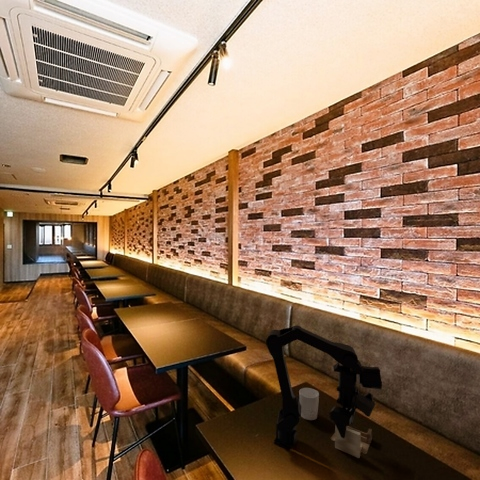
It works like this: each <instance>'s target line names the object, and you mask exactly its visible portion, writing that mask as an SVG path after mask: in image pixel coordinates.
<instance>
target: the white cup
mask: <svg viewBox="0 0 480 480" xmlns="http://www.w3.org/2000/svg"><path fill="white" fill-rule="evenodd" d="M298 393H299V402H300V404H301V406H302V408H301V417H300V418H302V419H304V420H307V421H314V420H316V419H317V418H318V410H319V399H320V397H319V396H320V393H319V391H318V390H316V389H314V388H310V387H302V388H300V389H299V391H298Z"/></svg>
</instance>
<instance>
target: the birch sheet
mask: <svg viewBox="0 0 480 480" xmlns="http://www.w3.org/2000/svg"><path fill="white" fill-rule="evenodd" d="M334 425H335V424H334ZM334 428H335V429H334V433H335V441H334V449H336V450H339V451H341V452H344V453H346V454H348V455H350V456H353V457H355V458H357V459H360V457H361V452H360V446H361V433H360V432H357V431H355V430H352V429H350V428H347V429H346V434H345V438H342V437H341V436H340V434H339V431H338V429H337V427H336V425H335V427H334Z"/></svg>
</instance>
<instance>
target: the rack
mask: <svg viewBox="0 0 480 480" xmlns="http://www.w3.org/2000/svg"><path fill="white" fill-rule="evenodd" d="M347 428H350V429H352V430H355V431H357V432H360V433H361V443H362V444H363V450H362V451H360V454H361V453H362V454H365V455H367V454H368V451H369V449H370V448H369V447H370V445H371V442H372V440H373V429H372V428H368V429H367V432H364V431H361V430H359V429H357V428H354V427H351V426H347ZM330 440H331V441H334V442H335V432H334V433H333V434H332V436H331V437H330Z"/></svg>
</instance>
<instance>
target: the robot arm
mask: <svg viewBox="0 0 480 480" xmlns="http://www.w3.org/2000/svg"><path fill="white" fill-rule="evenodd" d="M297 340H298V341H299V342H302V343H304V344H305V345H308V346H310V347H312V348H314V349H316V350H319V351H320V352H322V353H325V354H327V355H329V357H331V358H332V359H334V360H335V361H336V364H333V366H332V369H333V372H335V373H338V386H337V387H336V391H337V392H338V397H337V399H336V403H337V404H339V405H340V406H337V405H335V406H333V407H332V408H331V410H330V412H329V419H330V420H331V421H333V423H334V425H336V427H337V429H338V431H339V434H340V436H341V437H342V438H345V434H346V429H347V426H349V427H351V426H350V425H352V424H353V422H354V418H355V413H356V411H357V410H358V411H360V412H361V413H363V414H364V416H366V417H370V416H371V415H372V413H373V410H374V408H375V406H376V403H375V400H374V395H373V394H372V393H371V392H367V393H362V392H360V388H359V386H357V381H358V384H360V385H361V387H362V388H365V389H374V390H382V387H383V381H382V376H381V369H380V368H379V366H365V365H362V363H361V361H360V360H359V358H358V355H357V352H356V350H355V349H354V347H353V346H351V345H348V344H345V343H341V342H334V341H332V340H329V339H327V338H325V337H322V336H320V335H318V334H315V333H314V332H312V331H309V330H307V329H305V328H303V327H302V326H300V325H294V326H291V327H286V328H282V329H279V330H278V329H273V330H271V331H269V333H268V335H267V337H266V339H265V344H266V347H267V350H268V352H269V354H270V356H271V358H272V360H273V362H274V367H275V371H276V376H277V381H278V384H279V390H280V392H281V393H280V394H281V398H282V399H281V400H282V401H281V402H282V404H281V405H282V407H281V409H280V410H279V411H278V416H277V421H276V423H275V439H274V440H273V443H274V444H276V445H278V446H279V447H282V448H284V449H286V450H287V451H291V449H292V447H294V446H295V445H296V443H297V437H298V433H297V432H298V430H296V428H297V426H298V424H299V423H300V418H302V417H301V408H302V406H301V404H300V400H299V396H296V395H295V394H294V392H293V387H292V384H291V379H290V374H289V370H288V364H287V360H286V357H285V346H288V344H291V343H292V342H294V341H297ZM341 406H342V407H341Z"/></svg>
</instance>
